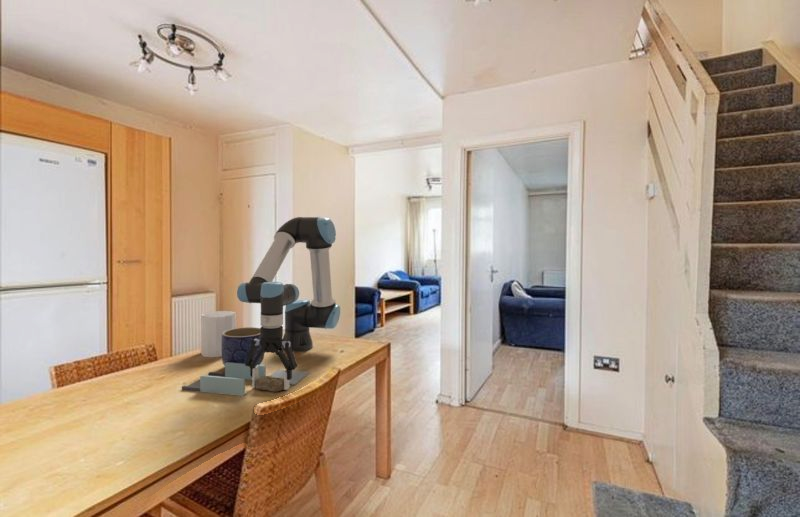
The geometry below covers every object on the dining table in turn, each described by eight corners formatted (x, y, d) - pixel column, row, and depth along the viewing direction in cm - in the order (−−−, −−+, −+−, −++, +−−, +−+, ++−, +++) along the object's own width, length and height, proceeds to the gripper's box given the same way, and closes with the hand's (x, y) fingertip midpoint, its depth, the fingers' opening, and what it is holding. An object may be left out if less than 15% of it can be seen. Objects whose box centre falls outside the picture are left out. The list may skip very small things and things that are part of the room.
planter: (228, 377, 141) (228, 339, 141) (215, 366, 154) (216, 330, 153) (271, 368, 152) (271, 333, 151) (256, 358, 165) (256, 325, 164)
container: (201, 358, 162) (202, 318, 161) (200, 350, 174) (200, 312, 174) (237, 354, 169) (238, 315, 169) (234, 346, 182) (234, 310, 181)
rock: (281, 394, 128) (281, 382, 127) (250, 391, 129) (251, 379, 129) (290, 386, 135) (291, 374, 135) (262, 383, 137) (262, 371, 137)
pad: (278, 370, 150) (278, 369, 150) (308, 373, 148) (308, 371, 148) (261, 382, 137) (261, 381, 137) (294, 385, 135) (294, 384, 135)
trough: (210, 374, 144) (210, 360, 143) (265, 379, 140) (265, 365, 140) (181, 389, 129) (181, 374, 129) (243, 395, 125) (243, 379, 125)
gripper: (234, 326, 129) (234, 388, 130) (299, 330, 125) (298, 394, 126) (246, 321, 136) (246, 380, 137) (307, 325, 133) (306, 385, 134)
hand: (270, 387), depth 132 cm, fingers closed on rock, 11 cm apart
